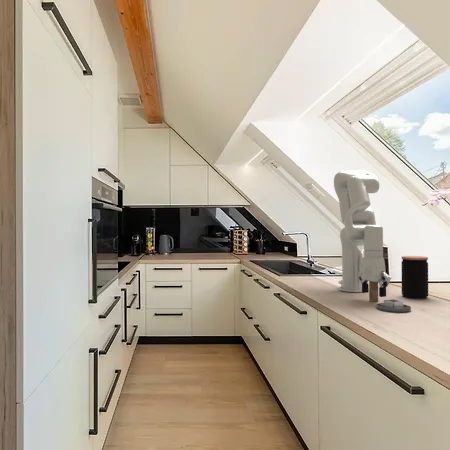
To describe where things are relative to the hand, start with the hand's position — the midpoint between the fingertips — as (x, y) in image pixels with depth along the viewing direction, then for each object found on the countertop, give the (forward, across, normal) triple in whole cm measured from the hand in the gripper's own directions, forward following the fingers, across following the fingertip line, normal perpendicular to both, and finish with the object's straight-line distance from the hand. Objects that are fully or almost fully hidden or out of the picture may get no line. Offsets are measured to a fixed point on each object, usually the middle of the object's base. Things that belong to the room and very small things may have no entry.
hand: (373, 294), depth 155 cm
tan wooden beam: (+3, 0, 0) cm, 3 cm away
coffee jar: (+3, 0, +24) cm, 24 cm away
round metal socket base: (+3, +14, -4) cm, 15 cm away
